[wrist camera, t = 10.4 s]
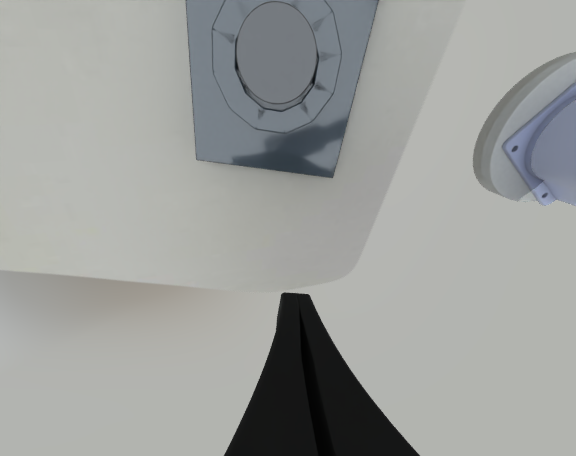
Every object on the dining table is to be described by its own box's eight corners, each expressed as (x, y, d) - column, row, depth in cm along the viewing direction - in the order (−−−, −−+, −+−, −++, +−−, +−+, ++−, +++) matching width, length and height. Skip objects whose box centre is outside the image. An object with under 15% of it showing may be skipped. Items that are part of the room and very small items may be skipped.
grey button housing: (192, -91, 11) (152, -182, 7) (378, -42, 12) (420, -101, 8) (204, 154, 17) (185, 167, 13) (327, 171, 18) (339, 187, 14)
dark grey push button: (243, 10, 10) (236, -10, 8) (317, 26, 10) (326, 10, 9) (241, 98, 12) (234, 97, 10) (304, 109, 12) (308, 110, 11)
